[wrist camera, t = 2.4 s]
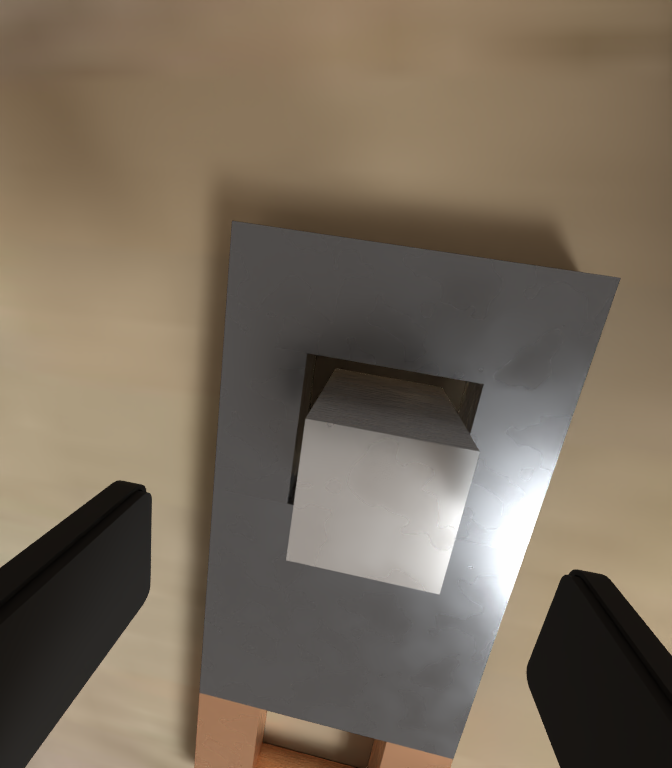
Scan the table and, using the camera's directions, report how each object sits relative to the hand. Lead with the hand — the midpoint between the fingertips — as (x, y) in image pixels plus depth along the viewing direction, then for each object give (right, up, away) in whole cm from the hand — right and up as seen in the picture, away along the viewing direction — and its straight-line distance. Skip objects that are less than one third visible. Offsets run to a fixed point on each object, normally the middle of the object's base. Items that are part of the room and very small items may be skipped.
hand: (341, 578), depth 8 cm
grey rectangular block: (+2, +2, +10) cm, 10 cm away
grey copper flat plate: (0, -7, +12) cm, 14 cm away
